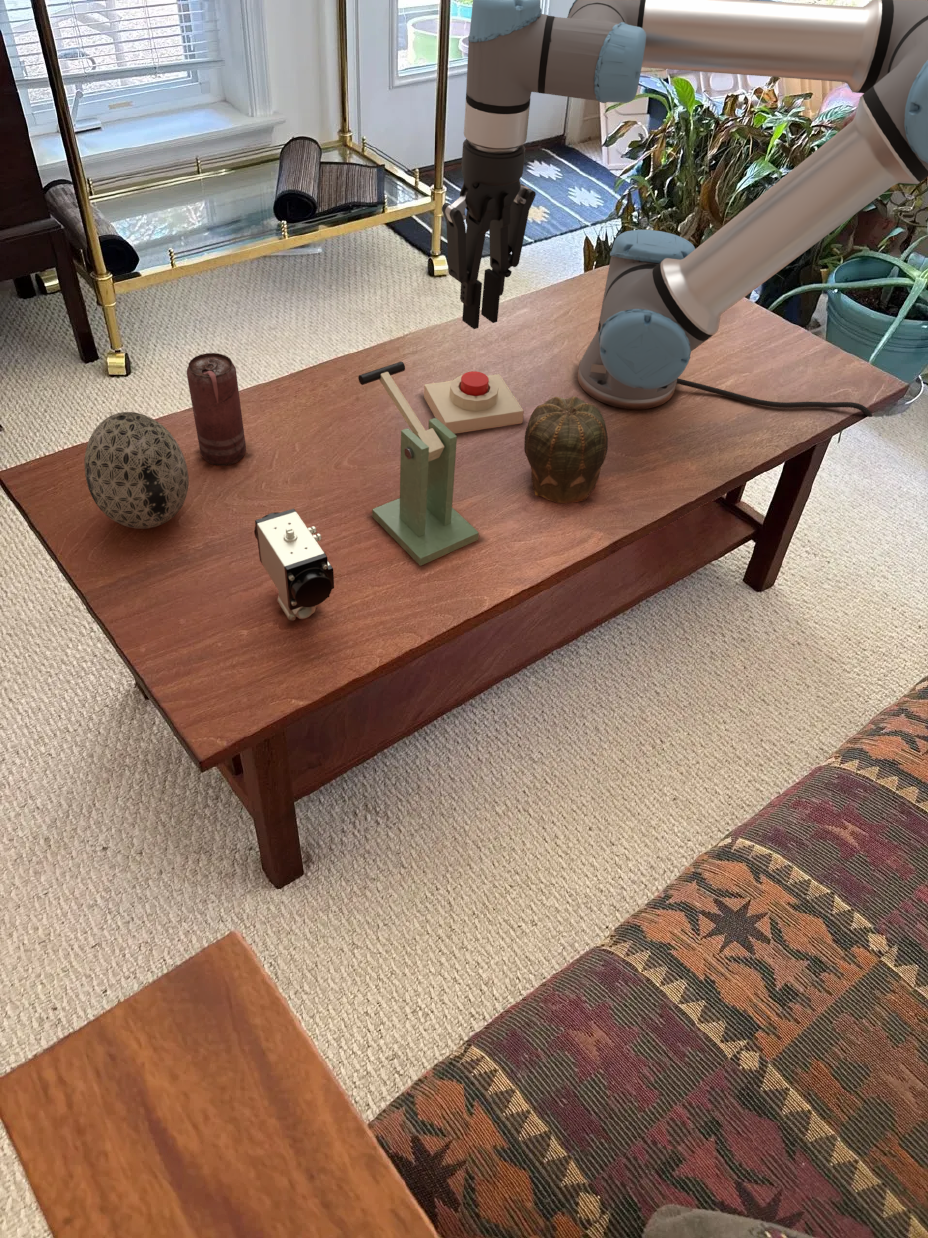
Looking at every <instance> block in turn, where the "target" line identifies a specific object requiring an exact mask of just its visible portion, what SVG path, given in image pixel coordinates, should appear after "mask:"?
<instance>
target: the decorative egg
mask: <svg viewBox="0 0 928 1238" xmlns="http://www.w3.org/2000/svg"><path fill="white" fill-rule="evenodd" d="M84 476H85V481H86V484H87V488H88V491H89V493H90V497H92V499H93V502H94V503H95V504H96V506H97V507H98V509H99V510H100V511H101V512H102V513H103V514H104V515H105V516H106V517H107V518H109V519H110V520H111V521H113V522H114V523H117V524H119V525H121V526H124V527H128V528H132V529H141V530H145V529H152V528H156V527H159V526H162V525H164V524H166V523H167V522H169V521H171V519H173V518H174V517H175V516H176V515H177V514H178V513H179V511H180V510H181V509H182V507H183V506H184V503H185V502H186V498H187V496H188V492H189V486H190V485H189V484H190V483H189V481H190V480H189V470H188V465H187V462H186V458H185V455H184V453H183V451H182V449H181V447H180V445H179V443H178V441H177V440H176V439H175V437H174V436H173V434H172V433H171V432H170V431H169V430H168V429H167V428H166V427H165V426H164V425H163V424H161V423H160V422H158V421H157V420H155V419H154V418H152V417H150V416H147V415H145V414H142V413H139V412H135V411H122V412H117V413H114V414H112V415H109V416H108V417H106V418H105V419H103V420H102V421H101V422H100V423H99V424H98V425H97V426H96V427H95V429H93V431H92V432H91V435H90V437H89V439H88V441H87V444H86V449H85V452H84Z"/></svg>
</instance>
